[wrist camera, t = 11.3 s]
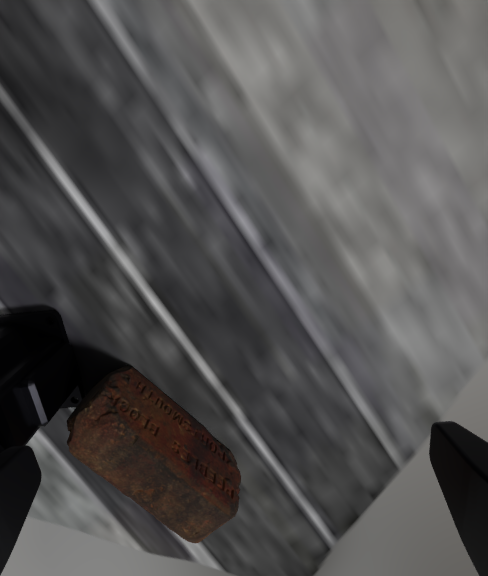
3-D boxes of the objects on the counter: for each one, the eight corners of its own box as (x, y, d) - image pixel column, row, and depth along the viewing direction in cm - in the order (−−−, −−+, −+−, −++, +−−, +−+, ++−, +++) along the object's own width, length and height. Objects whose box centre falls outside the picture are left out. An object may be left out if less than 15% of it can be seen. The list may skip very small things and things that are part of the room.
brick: (243, 454, 25) (241, 517, 20) (203, 484, 26) (193, 550, 21) (124, 354, 22) (93, 401, 18) (85, 391, 23) (46, 444, 19)
